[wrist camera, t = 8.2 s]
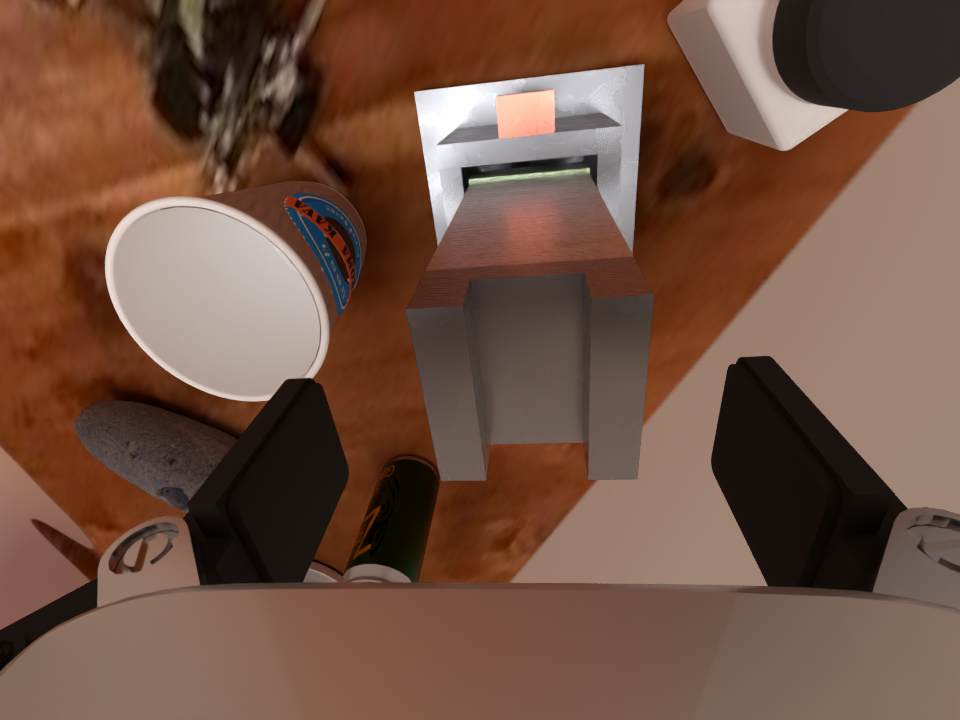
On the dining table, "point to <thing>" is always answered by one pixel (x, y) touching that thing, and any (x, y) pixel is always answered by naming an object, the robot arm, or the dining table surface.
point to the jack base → (535, 134)
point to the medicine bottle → (815, 59)
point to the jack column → (533, 325)
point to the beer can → (395, 524)
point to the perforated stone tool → (153, 447)
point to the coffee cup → (237, 283)
